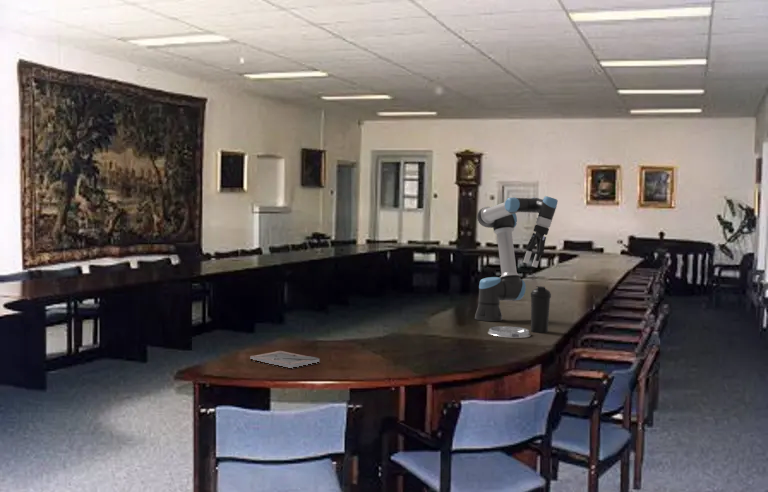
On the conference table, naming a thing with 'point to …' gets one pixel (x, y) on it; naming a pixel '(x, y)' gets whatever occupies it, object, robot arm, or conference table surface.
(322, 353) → the conference table surface
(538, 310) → the water bottle
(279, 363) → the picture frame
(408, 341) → the conference table surface
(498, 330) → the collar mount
